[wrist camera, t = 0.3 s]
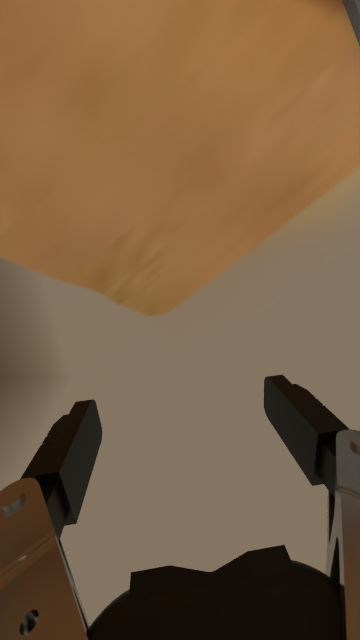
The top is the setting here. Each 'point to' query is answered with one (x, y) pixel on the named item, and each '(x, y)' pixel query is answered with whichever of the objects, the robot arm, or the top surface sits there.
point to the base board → (354, 15)
